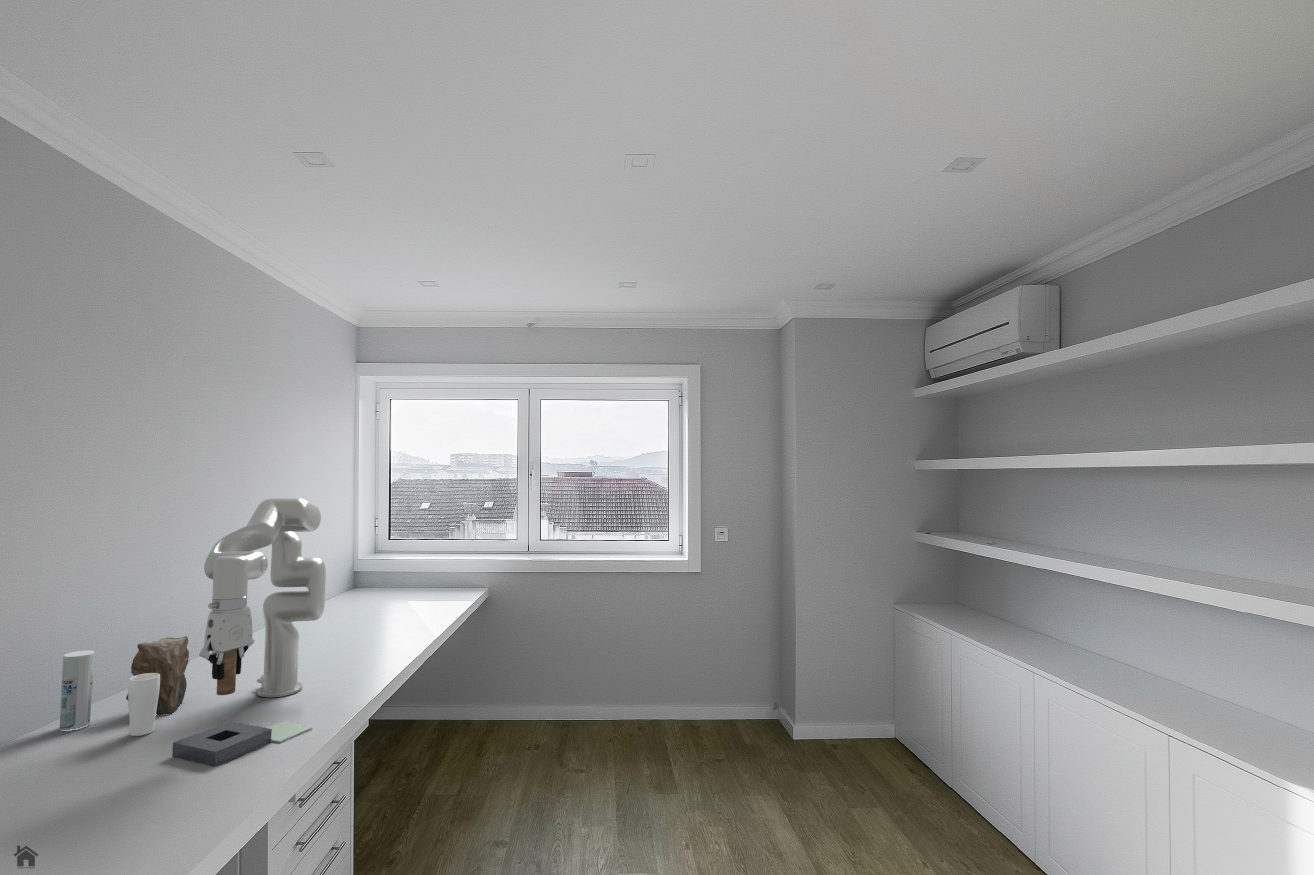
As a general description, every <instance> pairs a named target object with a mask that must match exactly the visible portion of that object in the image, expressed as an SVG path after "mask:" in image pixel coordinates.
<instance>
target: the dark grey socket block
mask: <svg viewBox="0 0 1314 875" xmlns="http://www.w3.org/2000/svg"><path fill="white" fill-rule="evenodd" d="M271 734H272V729H269V728H268V727H264V726H259V725H252V724H247V723H244V722H237V721H232V720H230V721H226V722H224V723H221V724H219V725H216V726H213V727H210V728H208V729H205V730H203V731H200V732H197V733H195V734H191V735H190V736H187V737H184V738H181V739H178V740H176V741H173V742H172V753H171V757H172V758H174V759H179V760H184V761H188V762H193V763H196V764H197V763H198V764H201V763H202V765H205V764H206V765H205V766H209V765H210V767H214V768H215V767H218V766H220V764H221V765H223V764H225V763H227V762H229V760H230V761H232V760H234V759H236V757H237V758H238V756H239V757H241V756H244V755H245V753H246V754H249V753H251V752H252V751H255V750H257V748H258V749H260V748H262V747H265V746H267V745H269V744H272V742H271ZM250 751H251V752H250ZM243 754H244V755H243ZM240 755H241V756H240ZM231 759H232V760H231ZM222 763H223V764H222Z"/></svg>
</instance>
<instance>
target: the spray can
mask: <svg viewBox="0 0 1314 875" xmlns="http://www.w3.org/2000/svg"><path fill="white" fill-rule="evenodd" d="M94 665H95V651H94V650H92V649H91V650H77V651H71V652H68V653H65V654H63V656H62V671H61V692H60V693H61V694H60V712H59V713H60V714H59V716H60V717H59V731H60V730H70V729H76V728H80V727H83V726H86V725H88V724H89V723H90V724H91V715H92V714H91V712H92V699H93V698H92V697H93V696H92V695H93V684H94V683H93V681H94V667H95V666H94ZM90 724H89V725H90Z"/></svg>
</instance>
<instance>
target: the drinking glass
mask: <svg viewBox="0 0 1314 875" xmlns="http://www.w3.org/2000/svg"><path fill="white" fill-rule="evenodd" d="M159 690H160V674H158V673H146V674H140V675H136V676H134V675H133V676H131V677H130V678H129V679H128V685H127V694H128V700H127V703H128V720H129V724H128V726H129V728H128V729H129V731H128V734H129V735H130V736H131V737H142V736H146V735H149V734H151V733H153V732H154V730H155V726H156V725H155V722H156V716H157V715H156V710H157V704H158V697H159Z"/></svg>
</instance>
